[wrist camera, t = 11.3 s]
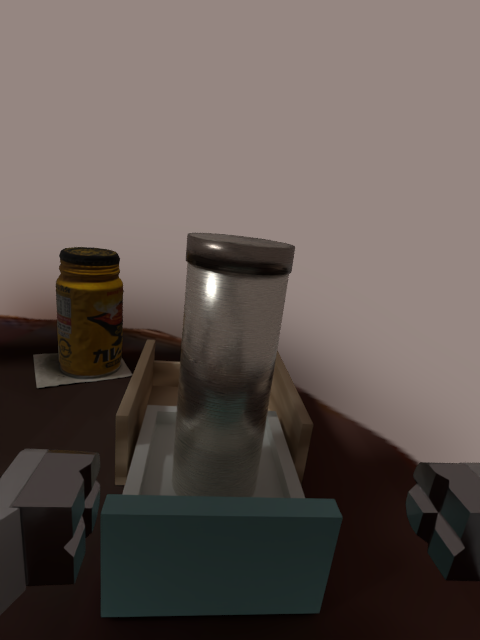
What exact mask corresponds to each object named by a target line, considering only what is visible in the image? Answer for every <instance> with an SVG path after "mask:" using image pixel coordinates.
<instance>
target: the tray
mask: <svg viewBox="0 0 480 640" xmlns="http://www.w3.org/2000/svg"><path fill="white" fill-rule="evenodd" d="M176 414H177V406H160V405H147V409H146V412H145V416H144V419H143V423H142V427H141V430H140V434H139V437H138V441H137V444H136V448H135V451H134V455H133V459H132V462H131V466H130V469H129V473H128V476H127V480H126V483H125V487H124V491H123V494H122V495H117V494H107V497H106V500H105V503H104V506H103V509H102V512H101V617H139V616H194V615H249V614H304V613H320V609H321V604H322V600H323V596H324V592H325V588H326V584H327V580H328V576H329V572H330V567H331V563H332V559H333V555H334V551H335V547H336V543H337V539H338V534H339V530H340V526H341V522H342V518H343V517H342V515H341V513H340V510H339V508H338V506H337V504H336V501H335V499H314V498H305V496H304V493H303V490H302V487H301V484H300V481H299V478H298V475H297V472H296V469H295V466H294V463H293V460H292V457H291V454H290V451H289V449H288V446H287V443H286V440H285V437H284V434H283V431H282V428H281V425H280V422H279V419H278V416H277V413H276V411H268V413H267V419H266V426H265V432H264V439H263V445H262V452H261V458H260V465H259V471H258V478H257V484H256V490H255V493H254V495H253V497H215V496H177V495H176V493H175V491H174V489H173V486H172V468H173V454H174V441H175V427H176Z"/></svg>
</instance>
